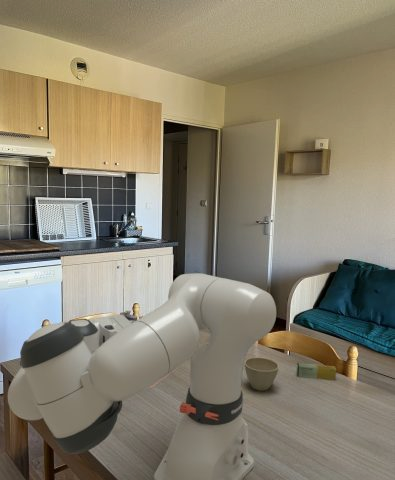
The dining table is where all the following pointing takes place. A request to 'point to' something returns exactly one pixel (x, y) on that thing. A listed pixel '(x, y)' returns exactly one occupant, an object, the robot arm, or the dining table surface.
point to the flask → (129, 316)
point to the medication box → (316, 371)
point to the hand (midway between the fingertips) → (146, 326)
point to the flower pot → (261, 372)
